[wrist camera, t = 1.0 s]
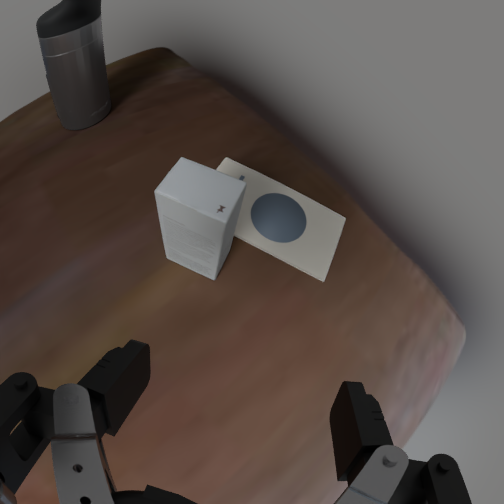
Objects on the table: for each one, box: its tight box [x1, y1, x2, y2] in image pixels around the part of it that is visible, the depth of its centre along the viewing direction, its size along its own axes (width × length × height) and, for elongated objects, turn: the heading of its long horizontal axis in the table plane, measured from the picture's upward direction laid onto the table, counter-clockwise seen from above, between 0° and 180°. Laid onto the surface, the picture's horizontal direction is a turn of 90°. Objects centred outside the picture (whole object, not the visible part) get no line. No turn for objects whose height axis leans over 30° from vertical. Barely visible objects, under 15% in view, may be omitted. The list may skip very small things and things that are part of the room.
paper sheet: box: [216, 157, 346, 282], centre depth 35 cm, size 18×10×1 cm, turn 64°
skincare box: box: [154, 157, 247, 280], centre depth 26 cm, size 6×4×12 cm
